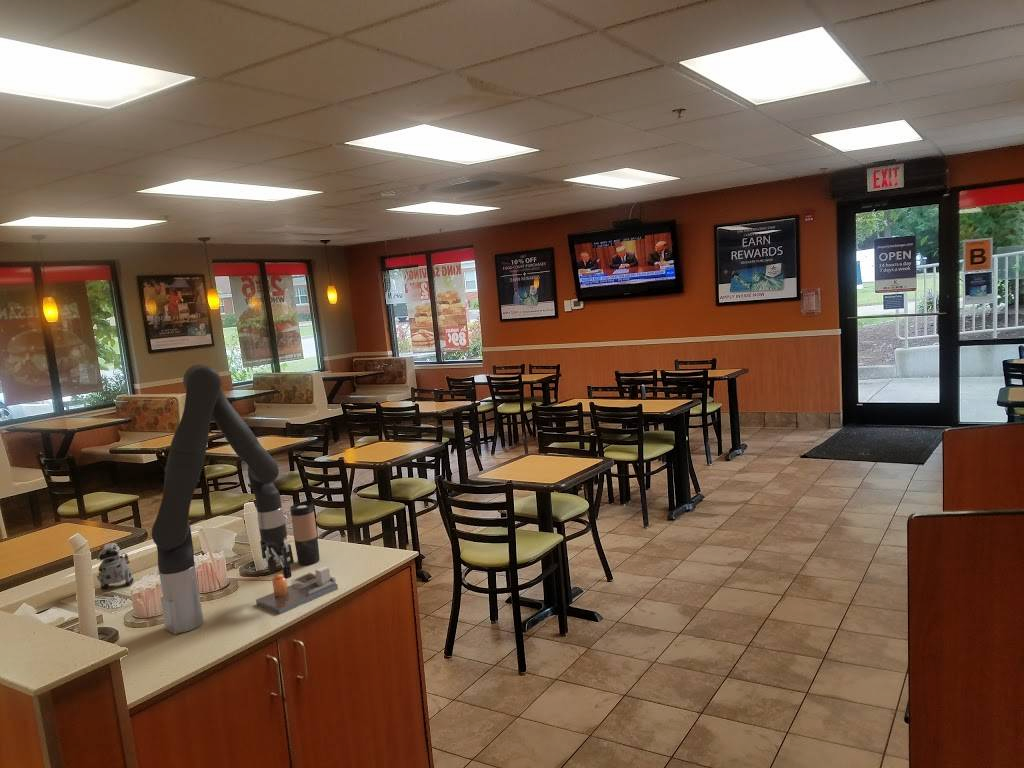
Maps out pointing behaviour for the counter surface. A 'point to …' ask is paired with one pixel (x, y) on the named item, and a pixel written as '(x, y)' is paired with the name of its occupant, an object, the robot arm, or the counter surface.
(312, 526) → the travel mug
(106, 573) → the figurine
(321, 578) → the block
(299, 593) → the panel
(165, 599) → the robot arm
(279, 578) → the cap
